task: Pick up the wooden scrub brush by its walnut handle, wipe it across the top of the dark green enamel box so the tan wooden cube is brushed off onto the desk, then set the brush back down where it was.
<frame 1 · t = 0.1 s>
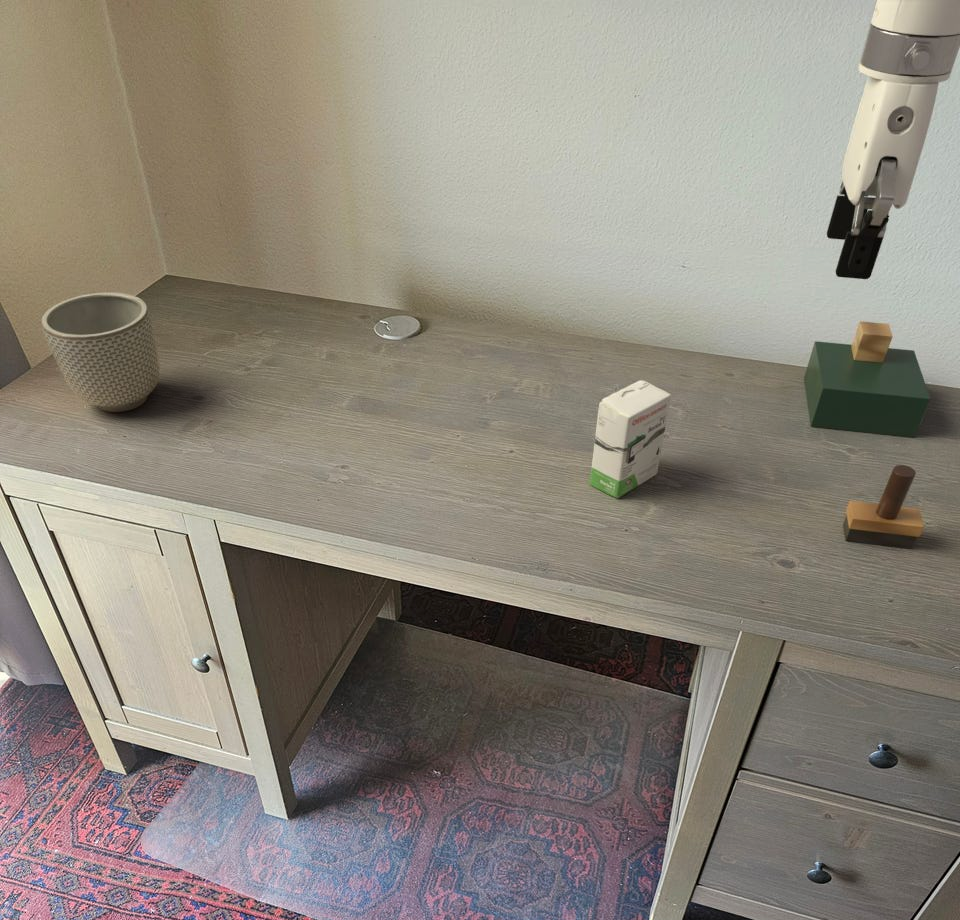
hand: (846, 256, 86), 31 cm above the table, tool pointing down, fingers open, 9 cm apart
planter: (122, 401, 125), on the table
ink box: (623, 479, 112), on the table
enamel box: (856, 406, 125), on the table
brush: (876, 536, 104), on the table
tan wooden cube: (866, 355, 124), point 6 cm above the table, touching enamel box
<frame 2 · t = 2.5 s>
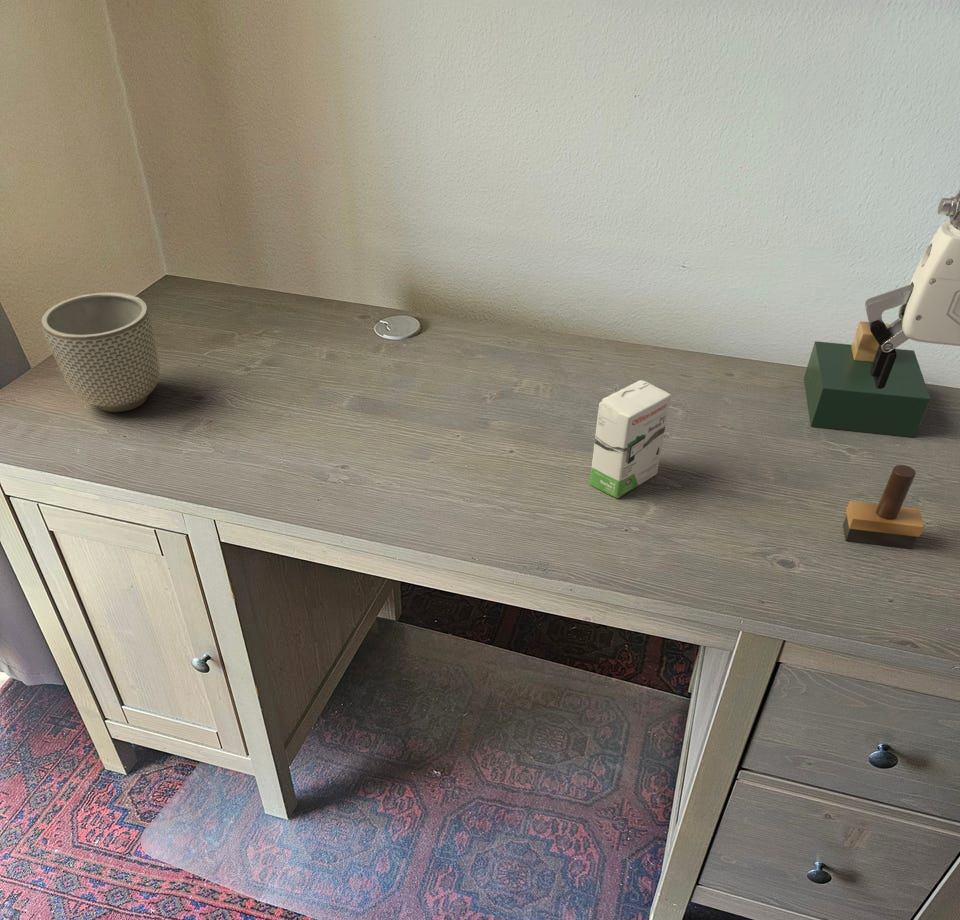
hand: (925, 387, 90), 20 cm above the table, tool pointing down, fingers open, 9 cm apart
nothing on the table moved.
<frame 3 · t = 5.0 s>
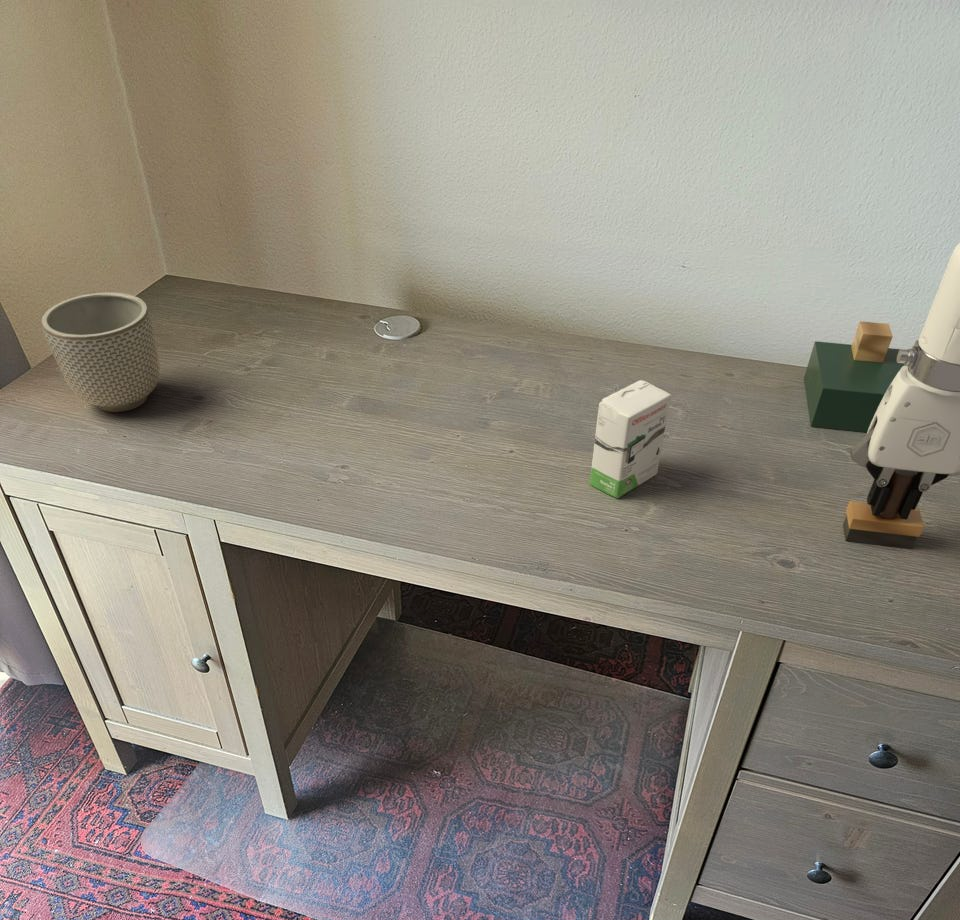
hand: (888, 509, 101), 4 cm above the table, tool pointing down, fingers closed on brush, 2 cm apart
brush: (876, 536, 104), on the table, touching gripper
everything else where it was.
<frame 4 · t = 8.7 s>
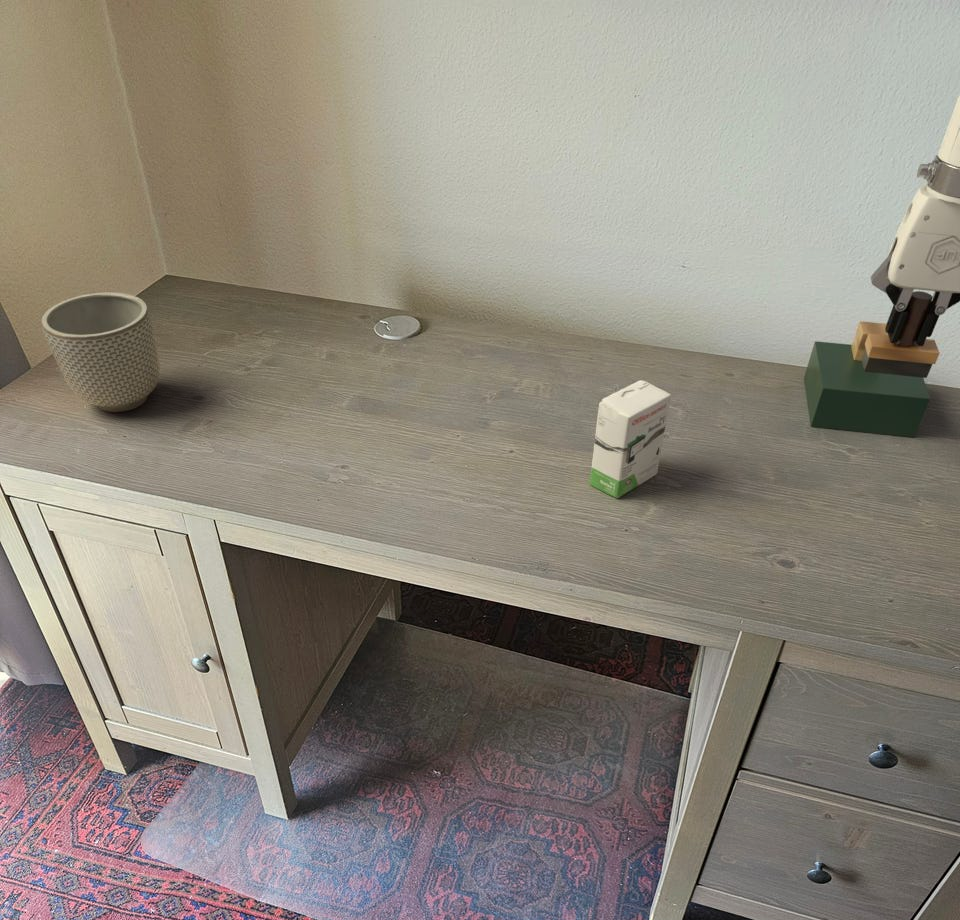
hand: (905, 338, 106), 16 cm above the table, tool pointing down, fingers closed on brush, 2 cm apart
brush: (893, 368, 109), point 12 cm above the table, touching gripper
everything else where it was.
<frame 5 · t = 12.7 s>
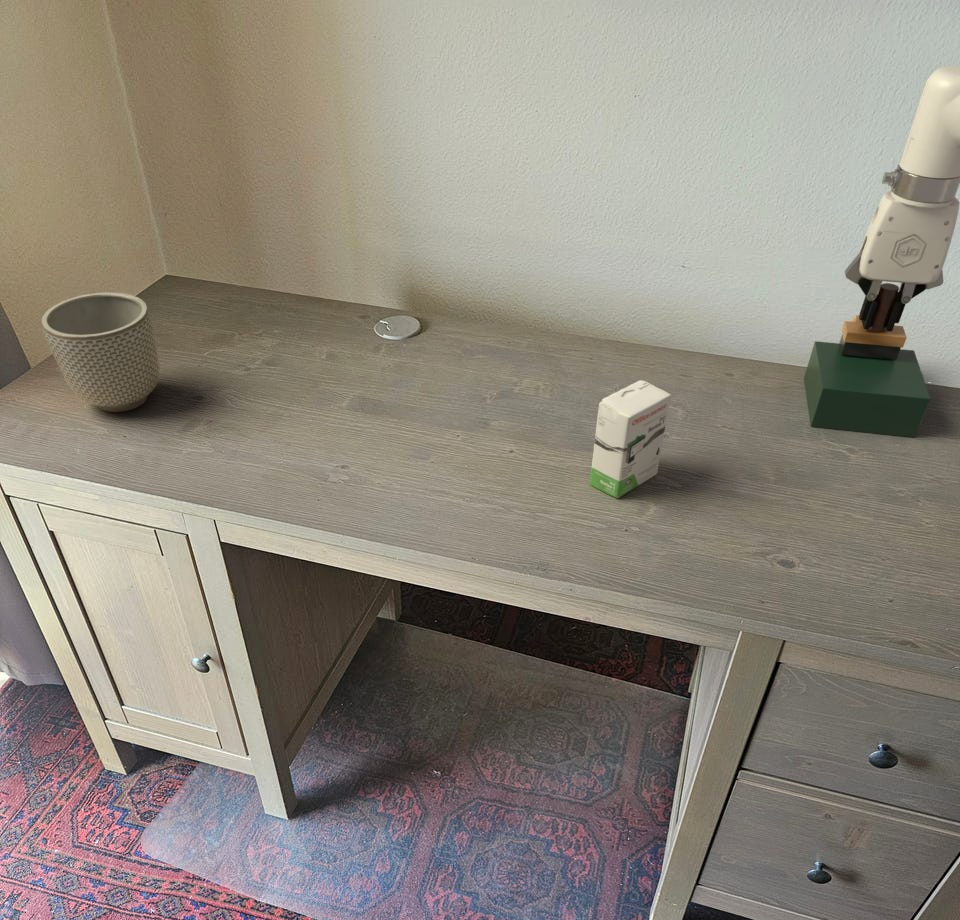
hand: (876, 325, 121), 10 cm above the table, tool pointing down, fingers closed on brush, 2 cm apart
brush: (867, 352, 124), point 6 cm above the table, touching gripper
tan wooden cube: (861, 348, 127), point 5 cm above the table, tilted 47°
everything else where it was.
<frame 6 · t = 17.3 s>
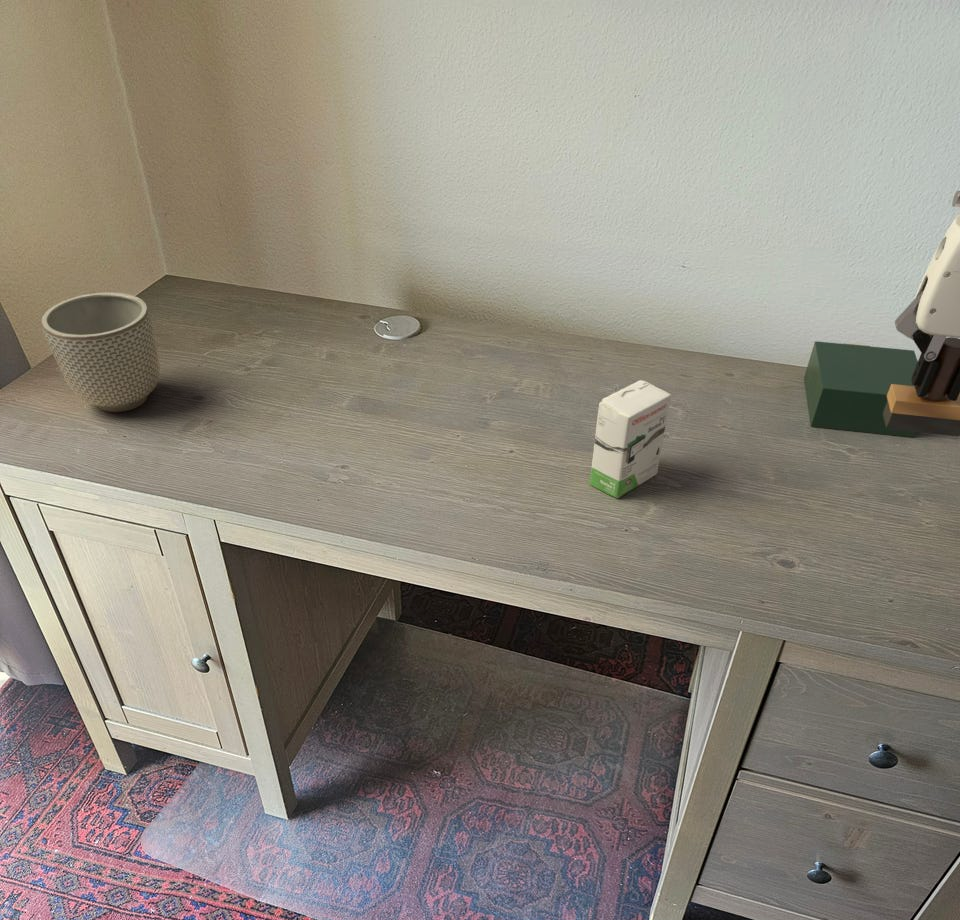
hand: (934, 391, 91), 19 cm above the table, tool pointing down, fingers closed on brush, 2 cm apart
brush: (920, 424, 94), point 15 cm above the table, touching gripper
tan wooden cube: (855, 369, 129), point 2 cm above the table, tilted 90°
everything else where it was.
when the fingers open (4 cm above the table, at t = 20.8 s): brush stays where it is, on the table.
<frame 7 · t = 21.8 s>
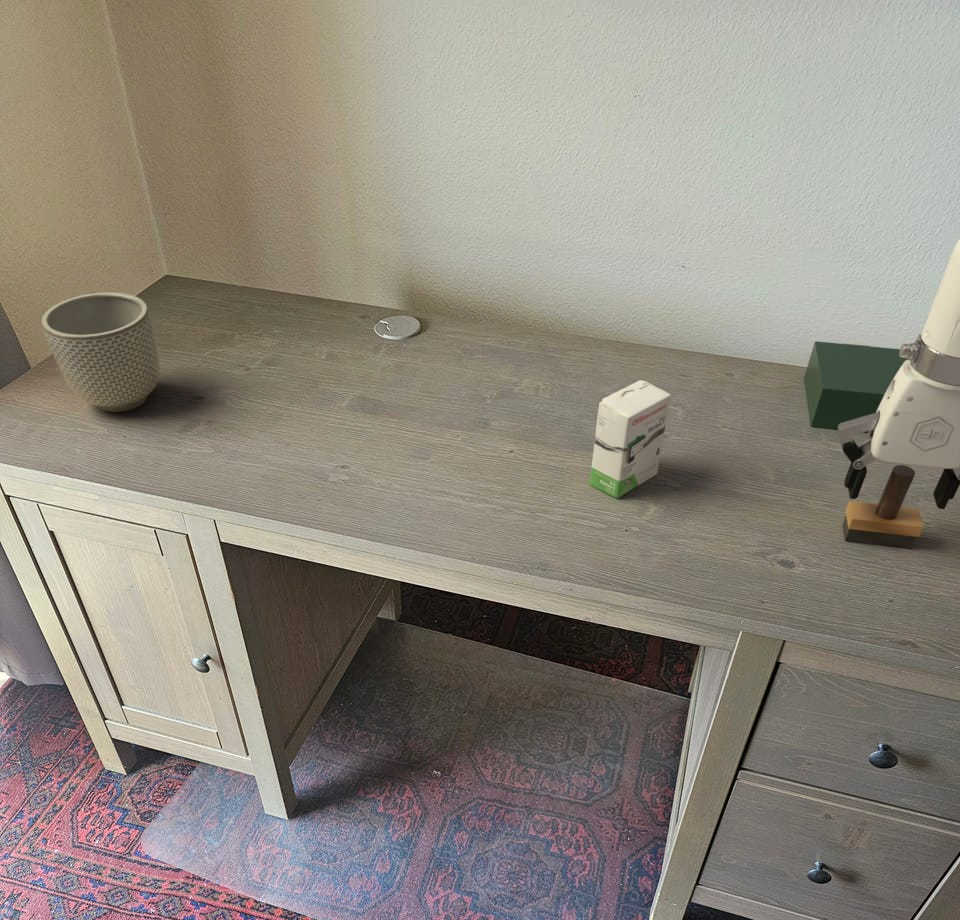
hand: (894, 497, 100), 6 cm above the table, tool pointing down, fingers open, 9 cm apart
brush: (875, 537, 104), on the table
everything else where it was.
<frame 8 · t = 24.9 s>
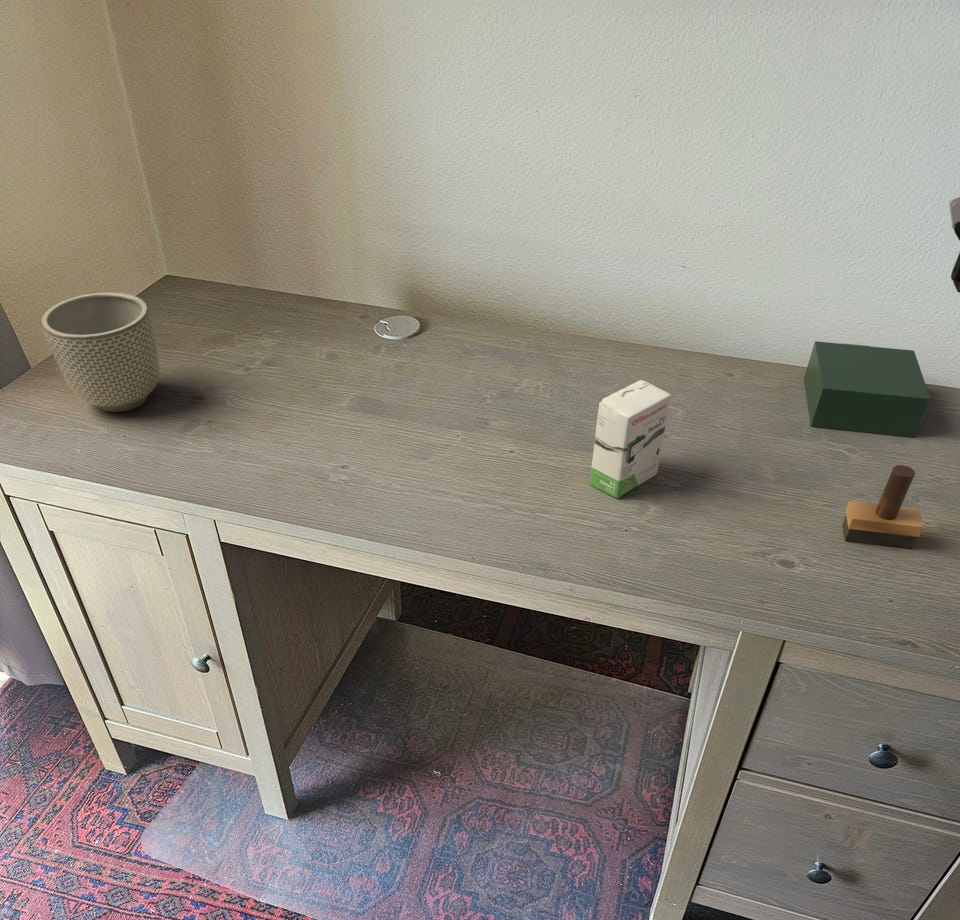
nothing on the table moved.
at the end: tan wooden cube point 2.0 cm above the table; brush inside the target area (0.1 cm from its centre), on the table; brush tilted 0° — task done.
